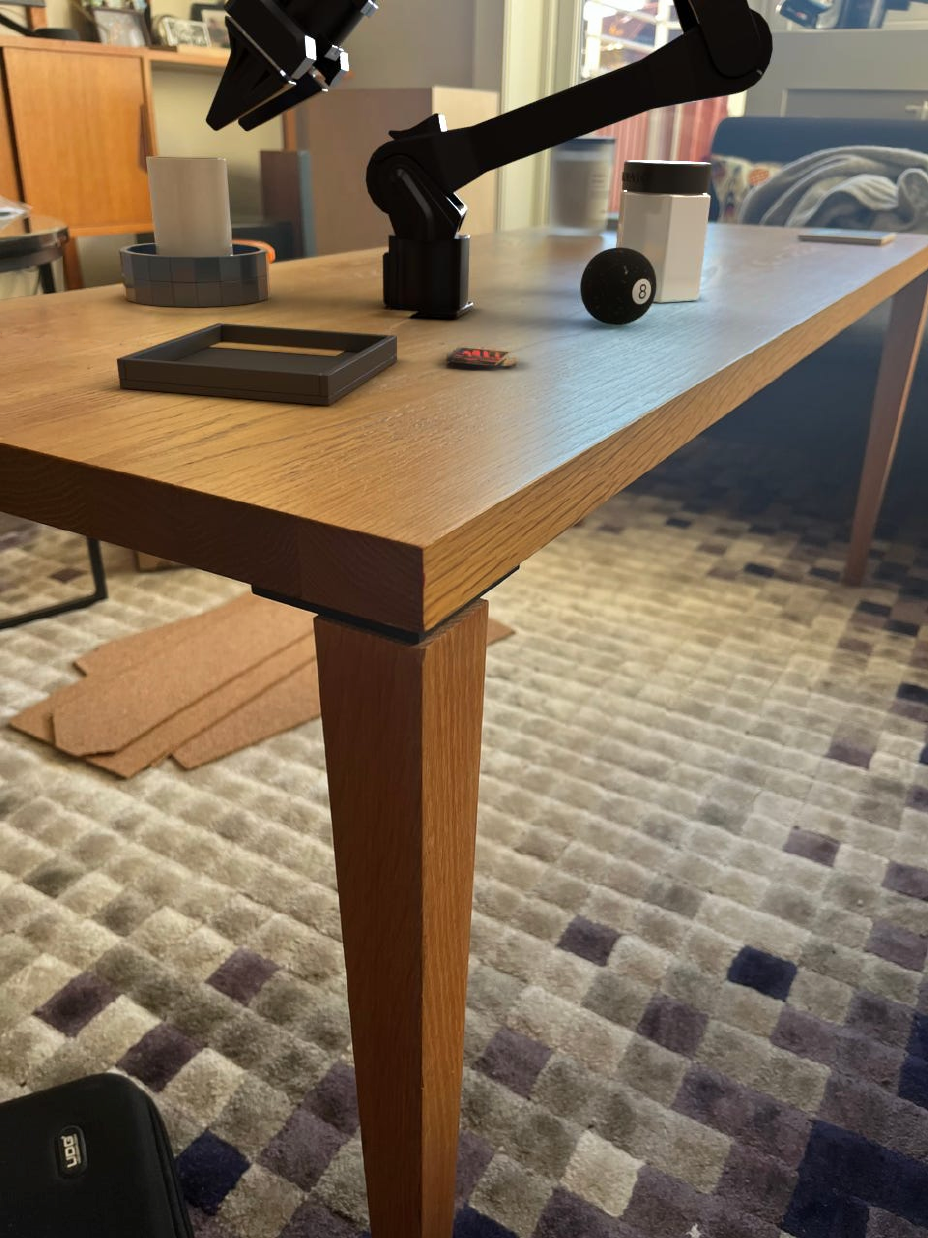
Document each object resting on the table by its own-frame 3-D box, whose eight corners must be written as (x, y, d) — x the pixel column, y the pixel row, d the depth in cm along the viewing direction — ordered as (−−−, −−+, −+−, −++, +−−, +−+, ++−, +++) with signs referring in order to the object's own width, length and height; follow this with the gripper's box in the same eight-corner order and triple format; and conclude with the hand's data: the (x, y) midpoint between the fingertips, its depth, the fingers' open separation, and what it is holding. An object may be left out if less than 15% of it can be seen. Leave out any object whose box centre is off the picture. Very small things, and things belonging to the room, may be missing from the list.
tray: (397, 361, 67) (397, 335, 67) (328, 406, 56) (327, 375, 55) (219, 347, 70) (217, 322, 69) (119, 387, 59) (115, 358, 58)
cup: (248, 293, 89) (239, 157, 84) (215, 303, 84) (204, 158, 79) (182, 289, 91) (170, 154, 86) (146, 298, 85) (130, 155, 80)
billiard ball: (610, 333, 79) (617, 252, 76) (563, 321, 84) (568, 244, 81) (666, 327, 82) (675, 249, 79) (619, 316, 86) (625, 242, 84)
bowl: (291, 297, 92) (288, 245, 90) (233, 318, 81) (228, 259, 79) (170, 290, 94) (165, 239, 92) (98, 309, 83) (90, 252, 81)
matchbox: (445, 366, 65) (445, 358, 65) (448, 351, 70) (448, 344, 70) (516, 368, 65) (516, 361, 65) (515, 353, 70) (515, 346, 70)
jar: (608, 288, 102) (618, 159, 97) (688, 290, 102) (703, 161, 97) (616, 301, 94) (628, 161, 89) (703, 304, 94) (720, 164, 89)
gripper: (299, -102, 81) (184, 55, 87) (239, -164, 65) (101, 36, 70) (399, 8, 84) (282, 154, 90) (366, -23, 68) (224, 158, 73)
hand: (227, 126), depth 81 cm, fingers open, 9 cm apart
